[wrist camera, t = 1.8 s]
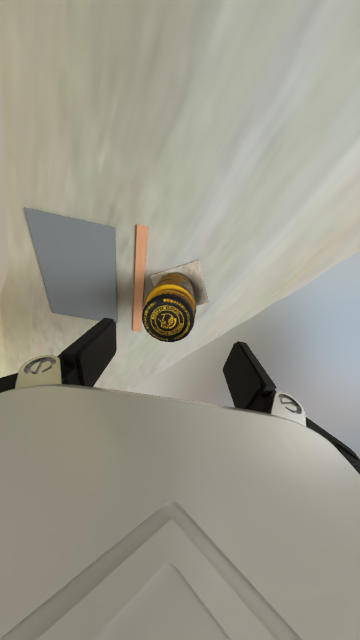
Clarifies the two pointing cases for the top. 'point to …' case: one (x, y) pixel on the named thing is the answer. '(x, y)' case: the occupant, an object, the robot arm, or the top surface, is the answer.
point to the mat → (76, 264)
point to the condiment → (174, 302)
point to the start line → (139, 275)
